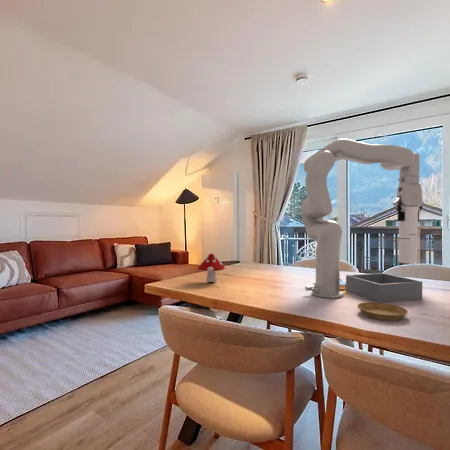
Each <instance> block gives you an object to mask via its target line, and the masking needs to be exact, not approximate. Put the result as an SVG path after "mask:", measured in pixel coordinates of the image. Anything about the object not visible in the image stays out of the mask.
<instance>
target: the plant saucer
mask: <svg viewBox="0 0 450 450" xmlns="http://www.w3.org/2000/svg"><path fill="white" fill-rule="evenodd" d="M356 307H357V308H358V309H359V310H360V312H361V313H362V314H363V315H364V316H365V317H368V318H372V319H374V320H380V321H386V320H388V321H393V322H395V321H399V320H401V319H403V318H404V317H405V316H406V315H407V314H408V310H407V309H406V308H405V307H403V306H400V305H396V304H390V303H387V302H385V303H379V302H376V301H372V302H370V301H367V302H360V303H358V304H357V306H356ZM394 320H395V321H394ZM388 321H387V322H388Z"/></svg>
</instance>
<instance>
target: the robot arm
mask: <svg viewBox="0 0 450 450" xmlns="http://www.w3.org/2000/svg"><path fill="white" fill-rule="evenodd" d="M420 158H421V156H420V154H419V153H417V152H413V150H411V149H410V148H407V147H405V146H400V145H394V144H377V143H376V144H370V143H366V142H362V141H356V140H354V139H348V138H339V139H337V140H334V141H332V142H330V143H328V144H327V145H325V146H324V147H323V148H321V149H320V150H318V151H316V152H315V153H314V154H312V155H311V156H308V157H307V159H306V160H305V161H304V162H303V170H304V172H305V174H306V175H305V180H304V181H305V189H306V196H307V198H304V200H303V201H302V203H301V205H300V213H301V218H302V221H303V222H302V223H303V225H304V229H305V233H306V234H307V236H308V238H309V239H311V240H312V241H313V242H317V244H316V248H315V282H313V283H312V284H313V285H312V284H311V285H307V286H305V287H304V289H305V291H307V292H308V291H311V294H312V295H313V296H315V297H318V298H323V299H324V298H325V299H339V298H342V297H344V292H343V291H341V290H340V289H341V288H340V286H341V285H340V278H341V277H340V274H341V273H340V272H341V271H340V267H341V266H340V263H341V262H340V259H341V258H340V253H341V252H340V250H341V248H340V247H341V241H342V235H343V230H342V227H341V225H340V224H339V223H338V222H337V221H335V220H333V219H331V220H330V219H324V218H326V217H329V216H330V215H331V214H332V213H333V203H332V200H331V196H330V193H329V189H328V183H327V180H328V175H329V173H330V171H331V170H332V169H333V167H334V165H335V163H336V162H338V161H341V160H344V161H348V162H352V163H357V164H362V165H370V164H371V165H372V164H379V163H380V167H381V168H382V169H384V170H385V171H397V170H399V178H398V179H397V180H398V182H399V184H398V185H397V191H396V199H395V200H394V201H392V205H393V206H394V209H395V210H396V212H397V221H398V222H399V221H404V220H405V212H403V211H404V209H405V207H418V222H420V213H421V212H422V211H421V210H422V209H423V207H424V206H425V202H424V201H423V189H422V185H421V183H420V163H421V162H420ZM401 207H402V208H401Z"/></svg>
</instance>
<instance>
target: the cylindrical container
mask: <svg viewBox="0 0 450 450" xmlns="http://www.w3.org/2000/svg"><path fill="white" fill-rule="evenodd" d="M401 208H402V207H401ZM403 212H405V220H404V221H398V258H397V259H398V260H397V261H398V263H400V264H401V263H402V264H407V265H409V264H411V265H412V264H418V237H419V236H418V233H419V229H418V228H419V221H418V207H405V209H404V211H403Z"/></svg>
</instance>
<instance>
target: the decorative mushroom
mask: <svg viewBox="0 0 450 450" xmlns="http://www.w3.org/2000/svg"><path fill="white" fill-rule="evenodd" d="M225 269H226V267H225V265H224V264H223V263H222V262H221V261H220V260H219V259H218V258H217V257H216V255H215V254H214V253H209V254H208V255H207V256H206V257H205V259H204V260H203V261H201V262H200V264H199V266H198V267H197V270H198V271H202V272H207V275H206V279H205V280H206V283H208V282H215V283H216V282H217V281H218V277H217V274H216V272H221V271H224V270H225Z"/></svg>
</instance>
